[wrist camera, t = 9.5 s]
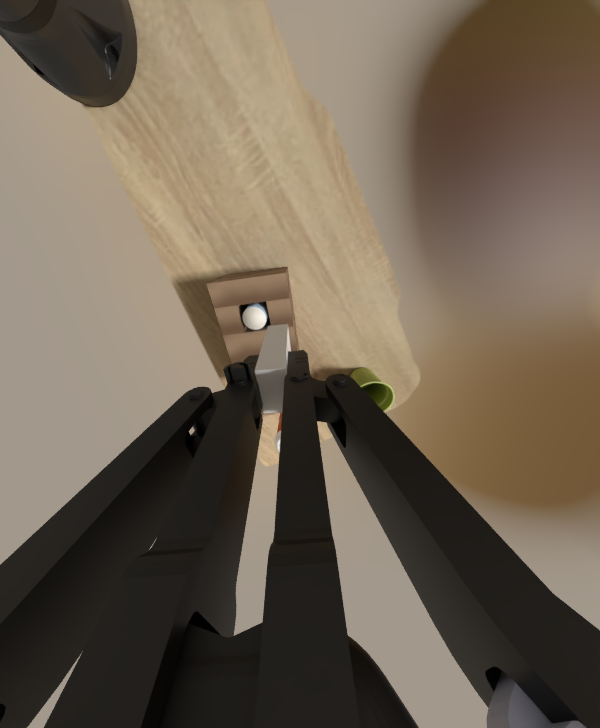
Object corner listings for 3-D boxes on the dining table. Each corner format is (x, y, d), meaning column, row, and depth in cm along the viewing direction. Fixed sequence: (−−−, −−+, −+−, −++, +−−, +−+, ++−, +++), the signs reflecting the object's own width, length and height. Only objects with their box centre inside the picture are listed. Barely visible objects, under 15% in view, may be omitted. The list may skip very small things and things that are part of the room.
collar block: (224, 275, 41) (206, 283, 32) (287, 266, 41) (285, 272, 32) (251, 373, 52) (243, 400, 43) (301, 367, 51) (303, 393, 42)
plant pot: (381, 389, 55) (395, 412, 47) (344, 397, 56) (353, 421, 48) (378, 357, 51) (393, 376, 43) (338, 366, 51) (346, 388, 44)
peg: (250, 295, 43) (239, 308, 34) (269, 292, 42) (263, 305, 34) (255, 314, 44) (245, 331, 36) (273, 311, 44) (268, 328, 35)
